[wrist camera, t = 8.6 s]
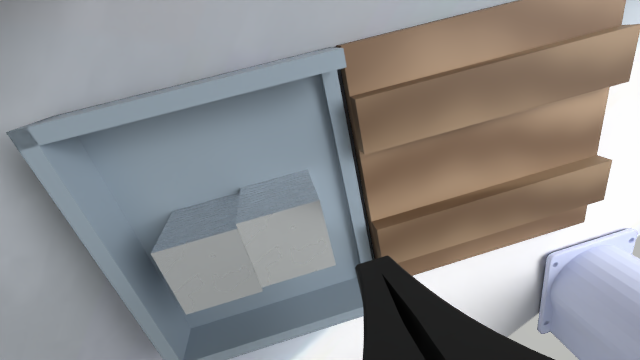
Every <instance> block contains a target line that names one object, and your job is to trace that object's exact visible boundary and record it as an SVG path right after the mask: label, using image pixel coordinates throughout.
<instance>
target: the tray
mask: <svg viewBox="0 0 640 360" xmlns="http://www.w3.org/2000/svg"><path fill="white" fill-rule="evenodd" d="M346 67H347V66H346V61H345V55H344V49H343V48H325V49H321V50H317V51H313V52H309V53H305V54H301V55H297V56H293V57H289V58H285V59H281V60H277V61H273V62H269V63H265V64H261V65H257V66H253V67H249V68H245V69H241V70H237V71H233V72H229V73H225V74H221V75H217V76H213V77H209V78H205V79H201V80H197V81H193V82H189V83H185V84H181V85H177V86H173V87H169V88H165V89H161V90H157V91H153V92H149V93H145V94H141V95H137V96H133V97H129V98H125V99H121V100H117V101H113V102H109V103H104V104H100V105H96V106H92V107H88V108H84V109H80V110H76V111H72V112H68V113H64V114H60V115H56V116H52V117H49V118H46V119H44V120H41V121H38V122H35V123H32V124H29V125H26V126H23V127H20V128H17V129H14V130H12V131H9V132H6V133H7V134H8V136H9V137H10V139H11V140H12V142H13V143H14V145H15V146H16V147H17V149H18V150H19V152H20V153H21V155H22V156H23V158H24V159H25V160H26V162H27V163H28V165H29V166H30V168H31V169H32V171H33V172H34V173H35V175H36V176H37V178H38V179H39V181H40V182H41V184H42V185H43V186H44V188H45V189H46V191H47V192H48V194H49V195H50V197H51V198H52V199H53V201H54V202H55V204H56V205H57V207H58V208H59V210H60V211H61V212H62V214H63V215H64V217H65V218H66V220H67V221H68V223H69V224H70V225H71V227H72V228H73V230H74V231H75V233H76V234H77V236H78V237H79V238H80V240H81V241H82V243H83V244H84V246H85V247H86V249H87V250H88V251H89V253H90V254H91V256H92V257H93V259H94V260H95V262H96V263H97V264H98V266H99V267H100V269H101V270H102V272H103V273H104V275H105V276H106V277H107V279H108V280H109V282H110V283H111V285H112V286H113V288H114V289H115V290H116V292H117V293H118V295H119V296H120V298H121V299H122V301H123V302H124V303H125V305H126V306H127V308H128V309H129V311H130V312H131V314H132V315H133V316H134V318H135V319H136V321H137V322H138V324H139V325H140V327H141V328H142V329H143V331H144V332H145V334H146V335H147V337H148V338H149V340H150V341H151V342H152V344H153V345H154V347H155V348H156V350H157V351H158V353H159V354H160V355H161V357H162V358H163V360H227V359H230V358H233V357H236V356H239V355H243V354H246V353H249V352H252V351H255V350H258V349H261V348H264V347H268V346H271V345H274V344H277V343H280V342H283V341H286V340H290V339H293V338H296V337H299V336H302V335H305V334H308V333H312V332H315V331H318V330H321V329H324V328H327V327H330V326H334V325H337V324H340V323H343V322H346V321H349V320H352V319H356V318H359V317H362V316H364V313H363V302H362V297H361V293H360V288H359V284H358V279H357V275H356V270H355V267H356V266H357V264H360V263H364V262H367V261H370V260H372V257H371V251H370V246H369V241H368V235H367V230H366V224H365V219H364V214H363V208H362V203H361V198H360V192H359V187H358V181H357V176H356V171H355V165H354V160H353V154H352V149H351V144H350V138H349V133H348V127H347V122H346V117H345V111H344V106H343V100H342V95H341V90H340V84H339V79H338V73H337V70H338V69H342V68H346ZM305 169H308V172H309V174H310V177H311V179H312V182H313V184H314V187H315V190H316V192H317V195H318V197H319V200H320V204H321V208H322V211H323V215H324V219H325V223H326V227H327V231H328V235H329V239H330V243H331V247H332V251H333V255H334V259H335V263H336V265H335V266H331V267H328V268H325V269H322V270H318V271H315V272H312V273H308V274H305V275H302V276H299V277H295V278H292V279H289V280H285V281H282V282H279V283H275V284H272V285H269V286H266V287H263V292H259V293H256V294H253V295H249V296H246V297H243V298H240V299H236V300H233V301H230V302H226V303H223V304H220V305H217V306H213V307H210V308H207V309H203V310H200V311H197V312H194V313H190V314H187V315H186V314H185V312H184V310H183V309H182V307H181V305H180V303H179V302H178V300H177V298H176V297H175V295H174V293H173V291H172V290H171V288H170V286H169V284H168V283H167V281H166V279H165V278H164V276H163V274H162V272H161V271H160V269H159V267H158V266H157V264H156V262H155V260H154V259H153V257H152V255H151V252H152V250H153V248H154V246H155V244H156V242H157V240H158V238H159V236H160V235H161V233H162V231H163V229H164V227H165V225H166V223H167V221H168V219H169V217H170V215H171V213H172V212H173V210H177V209H181V208H184V207H188V206H191V205H195V204H199V203H202V202H206V201H209V200H213V199H217V198H220V197H224V196H227V195H231V194H234V193H238V192H240V188H241V187H244V186H248V185H251V184H255V183H259V182H262V181H266V180H269V179H273V178H277V177H280V176H284V175H287V174H291V173H295V172H298V171H302V170H305Z"/></svg>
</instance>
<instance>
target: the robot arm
mask: <svg viewBox="0 0 640 360" xmlns="http://www.w3.org/2000/svg"><path fill="white" fill-rule="evenodd" d="M637 234H638V232H637V230H635V229H633V228H629V229H626V230H622V231H619V232H616V233H613V234H610V235H607V236H604V237H600V238H597V239H594V240H591V241H588V242H585V243H581V244H578V245H575V246H572V247H569V248H566V249H563V250H559V251H556V252H553V253H551V254H549V255H548V257H547V260H546V268H545V275H544V283H543V290H542V298H541V305H540V313H539V320H538V328H537V330H538V331H539V332H540V333H541V334H545V333H548V332H551V333H552V334H554V335H555V336H556V338H558V339H559V340H560V341H561V342H562V343H563V344H564V345H565V346H566V347H567V348H568V349H569V350H570V351H571V352H572V353H573V354H574V355H575V356H576V357H577V358H578V359H579V360H640V259H639V258H637V257H635V256H633V255H632V252H633V248H634V245H635V241H636V238H637ZM355 270H356V275H357V279H358V284H359V288H360V293H361V297H362V302H363V313H364V348H363V360H554V359H552V358H550V357H547V356H545V355H543V354H540V353H538V352H536V351H534V350H531V349H529V348H527V347H525V346H523V345H521V344H519V343H517V342H515V341H513V340H511V339H509V338H507V337H505V336H503V335H501V334H499V333H497V332H495V331H493V330H492V329H490V328H488V327H486V326H484V325H483V324H481V323H479V322H477V321H476V320H474V319H472V318H471V317H469V316H467V315H466V314H464V313H462V312H461V311H459V310H458V309H456V308H455V307H453V306H452V305H450V304H449V303H447V302H446V301H444V300H443V299H441V298H440V297H439V296H437V295H436V294H435V293H433V292H432V291H430V290H429V289H428V288H427V287H425V286H424V285H423V284H421V283H420V282H419V281H418V280H416V279H415V278H414V277H413V276H411V275H410V274H409V273H408V272H407V271H405V270H404V269H403V268H402V267H401V266H400V265H399V264H398V263H396V262H395V261H394V260H393V259H392V258H391V257H390V256H388V255H387V256H384V257H380V258H377V259H374V260H370V261H367V262H364V263H360V264H357V266H356V267H355Z"/></svg>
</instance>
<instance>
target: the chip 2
mask: <svg viewBox="0 0 640 360" xmlns="http://www.w3.org/2000/svg"><path fill="white" fill-rule="evenodd" d="M236 226H237V229H238V231H239V234H240V236H241V239H242V241H243V243H244V246H245V248H246V251H247V253H248V256H249V258H250V261H251V263H252V266H253V268H254V270H255V273H256V275H257V278H258V280H259V283H260V285H261V288H262V287H266V286H269V285H272V284H275V283H279V282H282V281H285V280H289V279H292V278H295V277H299V276H302V275H305V274H308V273H312V272H315V271H318V270H322V269H325V268H328V267H331V266H335V265H336V263H335V259H334V255H333V251H332V247H331V243H330V239H329V235H328V231H327V227H326V223H325V219H324V215H323V211H322V208H321V204H320V200H319V197H318V195H317V192H316V190H315V187H314V184H313V182H312V179H311V177H310V174H309V172H308V169H305V170H302V171H298V172H295V173H291V174H287V175H284V176H280V177H277V178H273V179H269V180H266V181H262V182H259V183H255V184H251V185H248V186H244V187H241V188H240V195H239V202H238V210H237V217H236Z"/></svg>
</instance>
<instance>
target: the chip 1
mask: <svg viewBox="0 0 640 360" xmlns="http://www.w3.org/2000/svg"><path fill="white" fill-rule="evenodd" d="M239 195H240V192H238V193H234V194H231V195H227V196H224V197H220V198H217V199H213V200H209V201H206V202H202V203H199V204H195V205H191V206H188V207H184V208H181V209H177V210H173V212H172V213H171V215H170V217H169V219H168V221H167V223H166V225H165V227H164V229H163V231H162V233H161V235H160V236H159V238H158V240H157V242H156V244H155V246H154V248H153V250H152V252H151V255H152V257H153V259H154V260H155V262H156V264H157V266H158V267H159V269H160V271H161V272H162V274H163V276H164V278H165V279H166V281H167V283H168V284H169V286H170V288H171V290H172V291H173V293H174V295H175V297H176V298H177V300H178V302H179V303H180V305H181V307H182V309H183V310H184V312H185V314H186V315H187V314H190V313H194V312H197V311H200V310H203V309H207V308H210V307H213V306H217V305H220V304H223V303H226V302H230V301H233V300H236V299H240V298H243V297H246V296H249V295H253V294H256V293H259V292H263V287H262V288H261V285H260V283H259V280H258V278H257V275H256V273H255V270H254V268H253V266H252V263H251V261H250V258H249V256H248V253H247V251H246V248H245V246H244V243H243V241H242V239H241V236H240V234H239V231H238V229H237V226H236V217H237V210H238V202H239Z"/></svg>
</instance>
